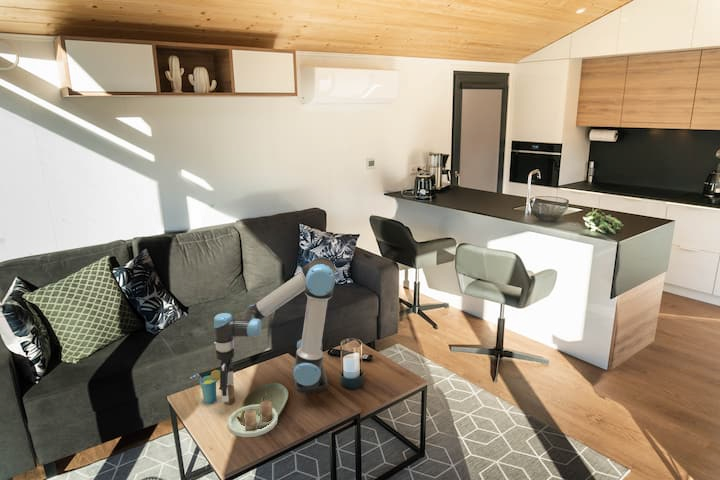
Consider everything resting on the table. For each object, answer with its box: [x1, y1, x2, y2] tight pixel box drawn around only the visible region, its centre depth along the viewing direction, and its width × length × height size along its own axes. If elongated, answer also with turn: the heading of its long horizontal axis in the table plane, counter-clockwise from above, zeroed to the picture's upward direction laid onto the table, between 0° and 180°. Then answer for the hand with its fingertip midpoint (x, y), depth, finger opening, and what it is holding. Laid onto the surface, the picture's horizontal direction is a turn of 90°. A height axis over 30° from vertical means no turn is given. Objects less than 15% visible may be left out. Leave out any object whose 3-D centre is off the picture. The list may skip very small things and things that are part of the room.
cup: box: [189, 369, 220, 405], centre depth 219 cm, size 14×8×15 cm, turn 128°
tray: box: [227, 403, 279, 438], centre depth 204 cm, size 20×20×2 cm
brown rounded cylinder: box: [259, 400, 273, 422], centre depth 204 cm, size 5×5×8 cm
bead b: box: [244, 410, 257, 431], centre depth 198 cm, size 5×5×8 cm
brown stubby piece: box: [224, 385, 236, 406], centre depth 218 cm, size 5×5×8 cm
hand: (228, 392), depth 217 cm, fingers open, 13 cm apart
